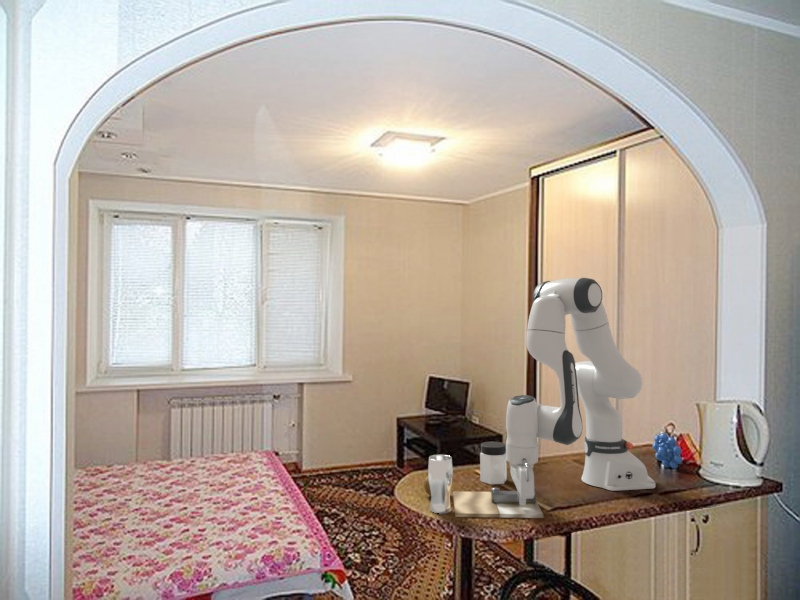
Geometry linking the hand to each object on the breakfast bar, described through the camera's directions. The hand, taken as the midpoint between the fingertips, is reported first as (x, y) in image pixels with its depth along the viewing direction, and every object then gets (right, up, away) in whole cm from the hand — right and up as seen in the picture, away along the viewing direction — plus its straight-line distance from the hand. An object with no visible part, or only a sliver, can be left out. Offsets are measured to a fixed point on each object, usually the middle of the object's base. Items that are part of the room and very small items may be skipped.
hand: (521, 503), depth 162 cm
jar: (-3, -3, +29) cm, 29 cm away
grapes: (+59, -2, +42) cm, 73 cm away
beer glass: (-23, -3, +3) cm, 23 cm away
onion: (-23, -3, +15) cm, 28 cm away
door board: (-6, -3, +6) cm, 9 cm away
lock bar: (-1, -1, +6) cm, 6 cm away
